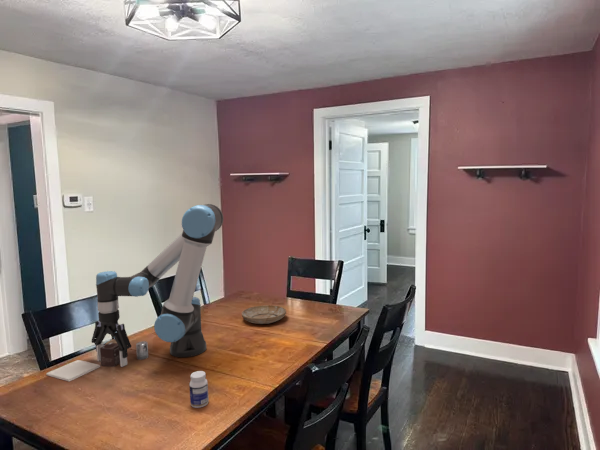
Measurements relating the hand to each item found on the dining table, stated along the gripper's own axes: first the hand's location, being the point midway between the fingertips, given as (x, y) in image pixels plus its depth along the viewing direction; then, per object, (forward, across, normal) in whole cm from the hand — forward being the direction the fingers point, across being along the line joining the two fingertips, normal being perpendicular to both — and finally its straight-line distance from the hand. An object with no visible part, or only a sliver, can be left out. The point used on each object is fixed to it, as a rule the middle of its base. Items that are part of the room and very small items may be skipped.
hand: (112, 362), depth 164 cm
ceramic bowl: (0, -30, -69) cm, 75 cm away
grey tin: (0, -7, -9) cm, 11 cm away
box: (0, 0, 0) cm, 0 cm away
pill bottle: (0, -53, +11) cm, 54 cm away
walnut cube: (0, +8, -8) cm, 11 cm away
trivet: (0, +8, +11) cm, 14 cm away
